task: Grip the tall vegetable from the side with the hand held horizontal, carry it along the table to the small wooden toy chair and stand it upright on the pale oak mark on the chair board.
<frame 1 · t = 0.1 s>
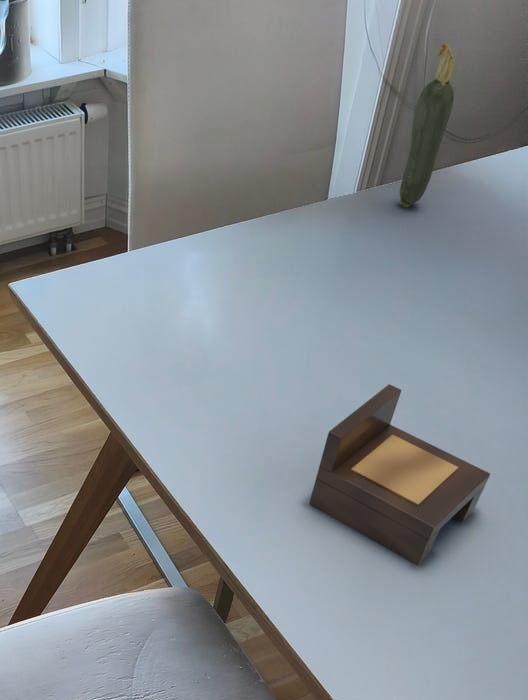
vegetable: (404, 211, 124), on the table
wooden toy chair: (389, 509, 86), on the table
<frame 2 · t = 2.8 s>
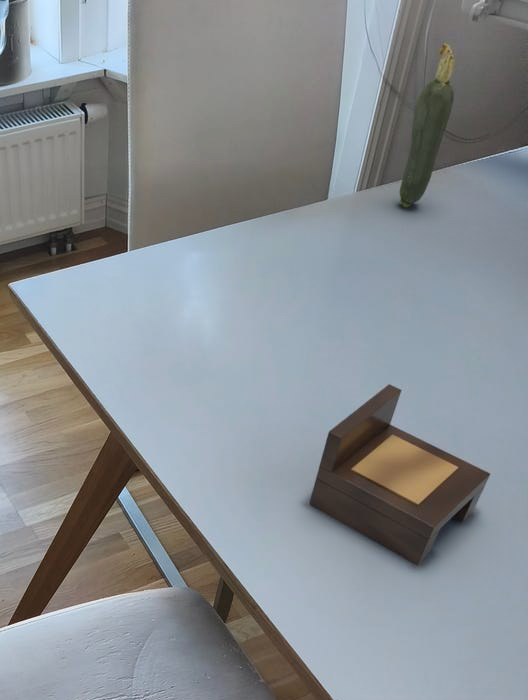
hand: (506, 22, 113), 20 cm above the table, tool horizontal, fingers open, 8 cm apart
nothing on the table moved.
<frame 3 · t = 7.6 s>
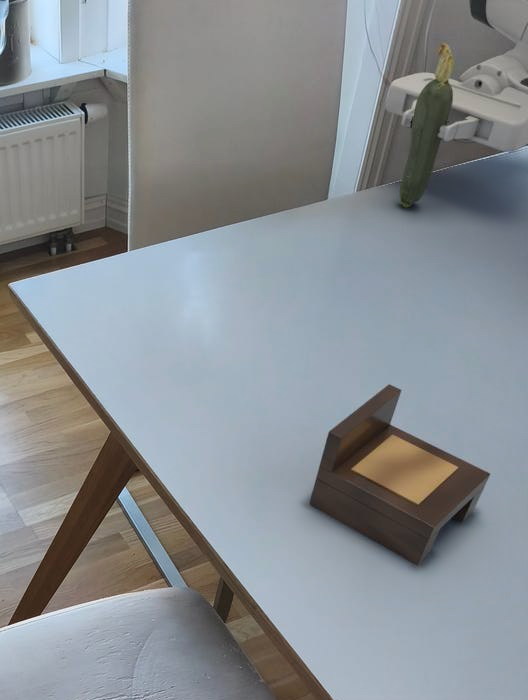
hand: (424, 127, 115), 11 cm above the table, tool horizontal, fingers closed on vegetable, 4 cm apart
vegetable: (404, 211, 124), on the table, touching gripper
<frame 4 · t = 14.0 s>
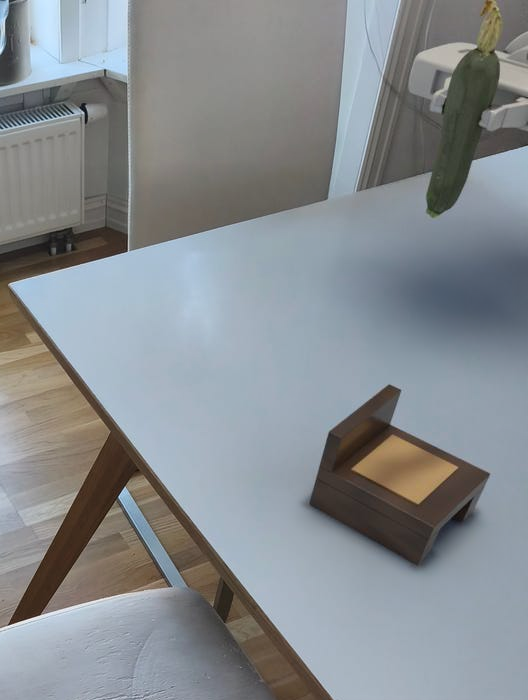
hand: (461, 112, 87), 24 cm above the table, tool horizontal, fingers closed on vegetable, 4 cm apart
vegetable: (431, 221, 96), point 13 cm above the table, touching gripper
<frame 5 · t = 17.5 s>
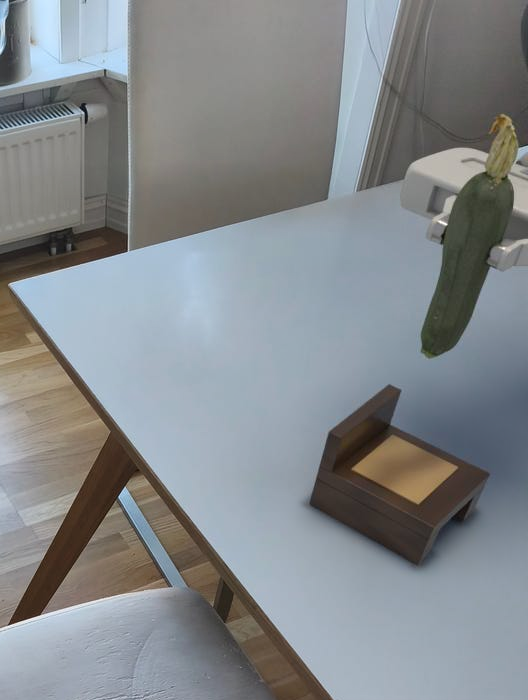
hand: (465, 246, 70), 24 cm above the table, tool horizontal, fingers closed on vegetable, 4 cm apart
vegetable: (427, 363, 79), point 13 cm above the table, touching gripper
when the fingers open (16 cm above the table, at t = 20.8 s): vegetable stays where it is, resting on wooden toy chair.
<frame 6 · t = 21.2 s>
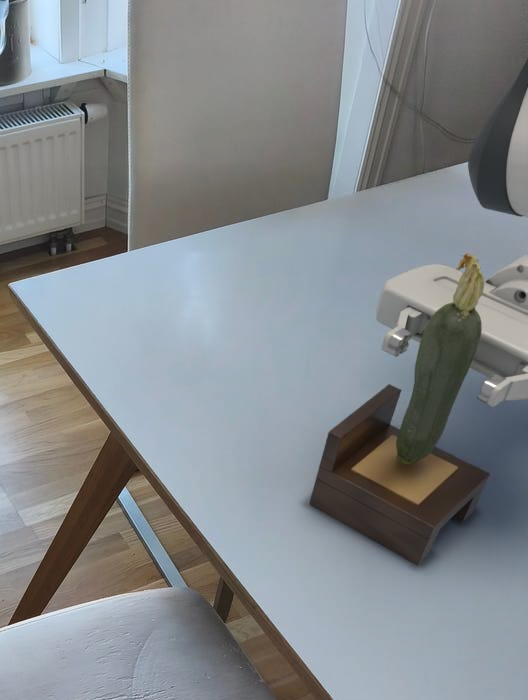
hand: (436, 370, 73), 16 cm above the table, tool horizontal, fingers open, 8 cm apart
vegetable: (402, 468, 82), point 5 cm above the table, touching wooden toy chair
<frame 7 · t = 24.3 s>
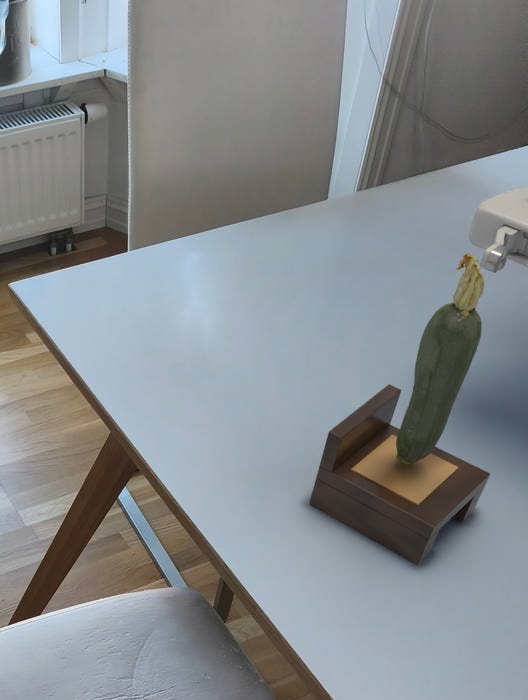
nothing on the table moved.
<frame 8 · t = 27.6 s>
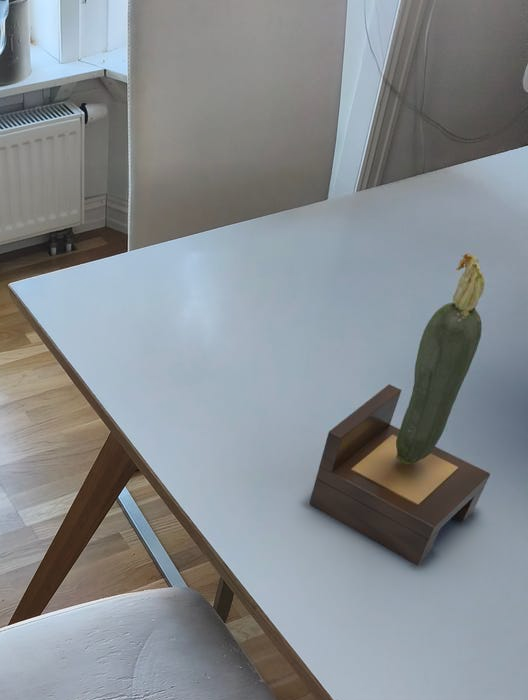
nothing on the table moved.
at the end: vegetable inside the target area on the wooden toy chair (0.2 cm from its centre), point 5.0 cm above the wooden toy chair's base; vegetable tilted 0°; the gripper is holding nothing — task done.
